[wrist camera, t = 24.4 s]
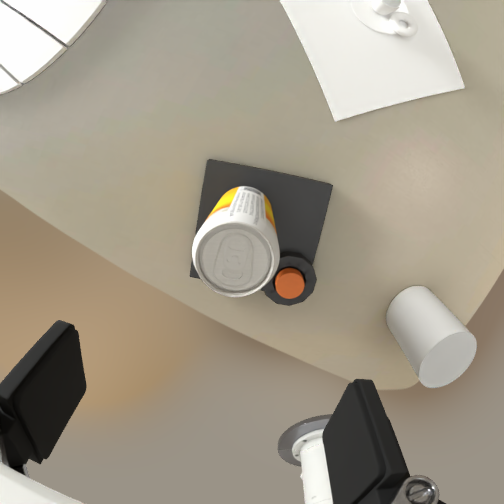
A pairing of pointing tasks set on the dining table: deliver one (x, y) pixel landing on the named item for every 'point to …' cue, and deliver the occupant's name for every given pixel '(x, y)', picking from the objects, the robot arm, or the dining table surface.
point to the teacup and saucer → (394, 20)
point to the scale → (275, 215)
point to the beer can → (237, 244)
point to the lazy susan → (39, 35)
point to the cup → (430, 336)
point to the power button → (289, 283)
